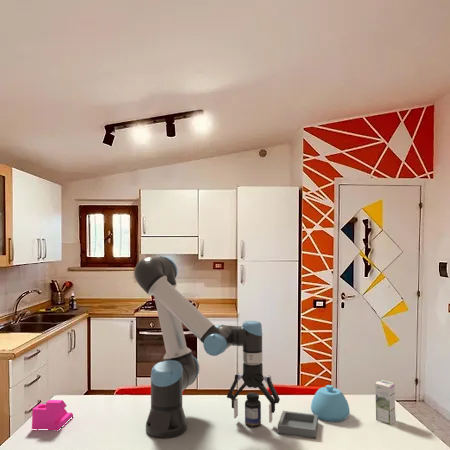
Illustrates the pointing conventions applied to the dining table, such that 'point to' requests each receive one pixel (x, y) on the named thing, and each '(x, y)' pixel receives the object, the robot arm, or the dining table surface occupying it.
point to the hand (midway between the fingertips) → (253, 419)
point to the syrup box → (385, 401)
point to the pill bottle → (252, 410)
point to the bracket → (50, 415)
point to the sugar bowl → (330, 404)
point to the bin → (298, 424)
